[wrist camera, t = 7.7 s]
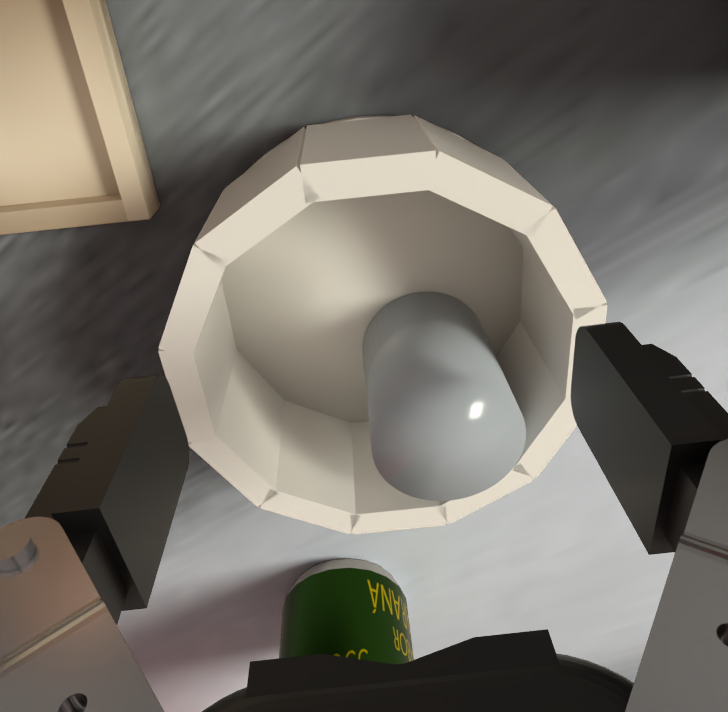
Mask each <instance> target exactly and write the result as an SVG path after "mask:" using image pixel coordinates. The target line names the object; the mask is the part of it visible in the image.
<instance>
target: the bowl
mask: <svg viewBox="0 0 728 712" xmlns="http://www.w3.org/2000/svg"><path fill="white" fill-rule="evenodd" d="M427 291H430V292H439V293H444V294H447V295H450V296H453V297H455V298H457V299H459V300H461V301H462V302H464V303H465V304H466V305H467V306H468V307H470V308H471V309H472V311H473V312H474V313H475V314H476V316H477V318H478V319H479V321H480V323H481V326H482V328H483V330H484V332H485V334H486V337H487V339H488V341H489V343H490V345H491V347H492V350H493V352H494V354H495V356H496V358H497V360H498V363H499V365H500V367H501V369H502V371H503V374H504V376H505V378H506V380H507V382H508V384H509V387H510V389H511V391H512V393H513V395H514V397H515V400H516V402H517V404H518V406H519V408H520V411H521V413H522V415H523V418H524V421H525V426H526V440H525V445H524V449H523V452H522V454H521V456H520V458H519V460H518V461H517V463H516V465H515V466H514V467H513V469H512V470H511V471H510V472H509V473H508V474H507V475H506V476H505V477H504V478H503V479H502V480H500V481H499V482H498V483H496V484H495V485H493V486H492V487H490V488H488V489H487V490H485V491H482V492H480V493H478V494H475V495H473V496H470V497H466V498H462V499H457V500H451V501H430V500H423V499H419V498H415V497H412V496H409V495H407V494H404V493H402V492H400V491H398V490H397V489H395V488H394V487H393V486H391V485H390V484H389V483H388V482H387V481H386V480H385V479H384V478H383V477H382V476H381V474H380V473H379V471H378V470H377V468H376V466H375V463H374V461H373V456H372V451H371V440H370V429H369V418H368V408H367V397H366V386H365V376H364V365H363V354H362V344H363V338H364V334H365V331H366V329H367V327H368V325H369V323H370V321H371V320H372V318H373V317H374V316H375V315H376V313H377V312H379V311H380V310H381V309H382V308H383V307H384V306H385V305H387V304H388V303H390V302H391V301H393V300H395V299H397V298H399V297H402V296H404V295H407V294H411V293H416V292H427ZM606 302H607V301H606V299H605V298H604V296H603V294H602V292H601V290H600V289H599V287H598V285H597V283H596V281H595V279H594V278H593V276H592V274H591V272H590V270H589V269H588V267H587V265H586V263H585V261H584V259H583V258H582V256H581V254H580V252H579V250H578V249H577V247H576V245H575V243H574V241H573V239H572V238H571V236H570V234H569V232H568V230H567V228H566V227H565V225H564V223H563V221H562V219H561V218H560V216H559V214H558V212H557V210H556V208H555V207H553V206H552V205H551V204H550V203H549V202H548V201H547V200H546V199H545V198H544V197H543V196H542V195H541V194H540V193H539V192H538V191H537V190H535V189H534V188H533V187H532V186H531V185H530V184H529V183H528V182H527V181H526V180H525V179H524V178H523V177H522V176H521V175H520V174H518V173H517V172H516V171H515V170H514V169H513V168H512V167H511V166H510V165H509V164H508V163H507V162H506V161H505V160H504V159H502V158H500V157H498V156H496V155H494V154H492V153H490V152H488V151H486V150H484V149H482V148H480V147H478V146H477V145H475V144H473V143H471V142H470V141H468V140H466V139H465V138H463V137H461V136H460V135H458V134H456V133H454V132H452V131H449V130H447V129H444V128H442V127H439V126H437V125H434V124H431V123H429V122H427V121H425V120H423V119H421V118H419V117H417V116H415V115H414V117H412V115H402V116H386V115H376V116H356V117H350V118H345V119H339V120H333V121H330V122H327V123H324V124H316V125H307V128H306V129H305V128H304V127H303V128H302V129H300V130H299V131H298V132H296V133H295V134H294V135H293V136H291V137H290V138H288V139H286V140H284V141H283V142H281V143H280V144H278V145H277V146H275V147H274V148H272V149H271V150H269V151H268V152H266V153H265V154H264V155H263V156H262V157H261V158H260V159H258V160H257V161H256V162H255V163H254V164H253V165H252V166H251V167H250V168H248V169H247V171H246V172H245V173H244V174H242V175H241V176H240V177H238V178H237V179H236V180H235V181H233V182H232V183H231V184H229V185H228V186H227V187H226V188H225V189H224V191H223V192H222V193H221V195H220V197H219V199H218V201H217V203H216V204H215V206H214V208H213V210H212V212H211V213H210V215H209V217H208V219H207V221H206V223H205V224H204V226H203V228H202V230H201V232H200V234H199V235H198V237H197V239H196V241H195V243H194V245H193V246H192V249H191V252H190V255H189V258H188V261H187V264H186V267H185V270H184V273H183V276H182V279H181V282H180V285H179V288H178V291H177V294H176V297H175V300H174V303H173V306H172V309H171V312H170V315H169V318H168V321H167V324H166V327H165V330H164V333H163V336H162V339H161V342H160V345H159V351H158V353H159V356H160V359H161V362H162V366H163V369H164V372H165V375H166V379H167V380H168V382H169V385H170V388H171V391H172V394H173V397H174V400H175V403H176V406H177V409H178V411H179V414H180V417H181V420H182V423H183V426H184V429H185V432H186V435H187V439H188V443H189V444H188V445H189V447H190V448H191V449H193V450H194V451H195V452H196V453H197V454H198V455H199V456H200V457H202V458H203V459H204V460H205V461H206V462H207V463H208V464H209V465H211V466H212V467H213V468H214V469H215V470H216V471H217V472H219V473H220V474H221V475H222V476H223V477H224V478H225V479H226V480H228V481H229V482H230V483H231V484H232V485H233V486H234V487H235V488H237V489H238V490H239V491H240V492H241V493H242V494H243V495H244V496H246V497H247V498H248V499H249V500H250V501H251V502H252V503H253V504H255V505H256V506H257V507H258V506H260V508H261V509H264V510H268V511H271V512H274V513H278V514H281V515H285V516H288V517H292V518H295V519H299V520H302V521H305V522H309V523H312V524H316V525H319V526H323V527H326V528H330V529H333V530H336V531H340V532H343V533H347V534H350V533H351V531H352V533H353V534H363V533H373V532H383V531H393V530H403V529H413V528H422V527H432V526H442V525H447V522H448V523H449V524H451V523H453V522H455V521H457V520H459V519H460V518H462V517H464V516H466V515H468V514H470V513H472V512H474V511H476V510H478V509H480V508H482V507H484V506H485V505H487V504H489V503H491V502H493V501H495V500H497V499H499V498H501V497H503V496H505V495H507V494H508V493H510V492H512V491H514V490H516V489H518V488H520V487H522V486H524V485H526V484H528V483H530V482H532V481H533V478H537V477H538V475H539V474H540V473H541V471H542V470H543V469H544V468H545V466H546V465H547V464H548V462H549V461H550V460H551V459H552V457H553V456H554V455H555V453H556V452H557V451H558V450H559V448H560V447H561V446H562V444H563V443H564V442H565V441H566V439H567V438H568V437H569V435H570V434H571V433H572V431H573V430H574V429H575V428H576V426H577V424H576V422H575V419H574V416H573V412H572V407H571V382H572V370H573V359H574V348H575V337H576V332H577V330H578V328H579V327H581V326H588V325H597V324H605V320H606V313H607V304H606ZM532 477H533V478H532Z"/></svg>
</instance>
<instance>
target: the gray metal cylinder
mask: <svg viewBox="0 0 728 712" xmlns="http://www.w3.org/2000/svg"><path fill="white" fill-rule="evenodd" d="M362 354H363V365H364V376H365V386H366V397H367V408H368V418H369V429H370V440H371V451H372V456H373V461H374V463H375V466H376V468H377V470H378V471H379V473H380V474H381V476H382V477H383V478H384V479H385V480H386V481H387V482H388V483H389V484H390V485H391V486H393V487H394V488H395V489H397V490H398V491H400V492H402V493H404V494H407V495H409V496H412V497H415V498H419V499H423V500H430V501H451V500H457V499H462V498H466V497H470V496H473V495H475V494H478V493H480V492H482V491H485V490H487V489H488V488H490V487H492V486H493V485H495V484H496V483H498V482H499V481H500V480H502V479H503V478H504V477H505V476H506V475H507V474H508V473H509V472H510V471H511V470H512V469H513V467H514V466H515V465H516V463H517V461H518V460H519V458H520V456H521V454H522V452H523V449H524V445H525V440H526V426H525V421H524V418H523V415H522V413H521V411H520V408H519V406H518V404H517V402H516V400H515V397H514V395H513V393H512V391H511V389H510V387H509V384H508V382H507V380H506V378H505V376H504V374H503V371H502V369H501V367H500V365H499V363H498V360H497V358H496V356H495V354H494V352H493V350H492V347H491V345H490V343H489V341H488V339H487V337H486V334H485V332H484V330H483V328H482V326H481V323H480V321H479V319H478V318H477V316H476V314H475V313H474V312H473V311H472V309H471V308H470V307H468V306H467V305H466V304H465V303H464V302H462V301H461V300H459V299H457V298H455V297H453V296H450V295H447V294H444V293H439V292H430V291H427V292H416V293H411V294H407V295H404V296H402V297H399V298H397V299H395V300H393V301H391V302H390V303H388V304H387V305H385V306H384V307H383V308H382V309H381V310H380V311H379V312H377V313H376V315H375V316H374V317H373V318H372V320H371V321H370V323H369V325H368V327H367V329H366V331H365V334H364V338H363V344H362Z"/></svg>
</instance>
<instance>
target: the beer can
mask: <svg viewBox="0 0 728 712" xmlns="http://www.w3.org/2000/svg"><path fill="white" fill-rule="evenodd" d="M317 654H327V655H334V656H341V657H348V658H355V659H362V660H368V661H375V662H382V663H389V664H404V663H407V662H410V661H413V660H414V658H413V650H412V642H411V634H410V626H409V618H408V610H407V602H406V597H405V596H404V594H403V592H402V590H401V589H400V587H399V585H398V584H397V583H396V581H395V580H394V578H393V577H392V575H391V574H390V573H388V572H387V571H386V570H384V569H383V568H382V567H381V566H378V565H376V564H373V563H371V562H368V561H365V560H357V559H350V558H347V559H336V560H329V561H326V562H323V563H320V564H317V565H315V566H313V567H311V568H310V569H308V570H307V571H305V572H304V573H302V574H301V576H300V577H299V578H298V579H297V581H296V582H295V583H294V585H293V586H292V588H291V590H290V591H289V593H288V594H287V596H286V599H285V603H284V607H283V613H282V626H281V639H280V652H279V659H280V658H289V657H298V656H308V655H317Z"/></svg>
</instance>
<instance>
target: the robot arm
mask: <svg viewBox="0 0 728 712" xmlns="http://www.w3.org/2000/svg"><path fill="white" fill-rule="evenodd" d="M571 407H572V412H573V416H574V419H575V422H576V424H577V426H578V428H579V429H580V431H581V433H582V435H583V437H584V438H585V440H586V442H587V444H588V446H589V447H590V449H591V451H592V453H593V455H594V456H595V458H596V460H597V462H598V464H599V465H600V467H601V469H602V471H603V473H604V474H605V476H606V478H607V480H608V482H609V483H610V485H611V487H612V489H613V491H614V492H615V494H616V496H617V498H618V500H619V501H620V503H621V505H622V507H623V509H624V510H625V512H626V514H627V516H628V518H629V519H630V521H631V523H632V525H633V527H634V528H635V530H636V532H637V534H638V536H639V537H640V539H641V541H642V543H643V545H644V546H645V548H646V550H647V552H648V554H649V555H651V554H660V553H669V552H675V555H674V559H673V562H672V565H671V568H670V571H669V574H668V578H667V581H666V584H665V587H664V590H663V593H662V597H661V600H660V603H659V606H658V609H657V612H656V615H655V619H654V622H653V625H652V628H651V631H650V634H649V638H648V641H647V644H646V647H645V650H644V653H643V657H642V660H641V663H640V666H639V669H638V672H637V676H636V679H635V682H634V683H633V682H631V681H630V680H628V679H626V678H625V677H623V676H621V675H619V674H617V673H615V672H613V671H611V670H609V669H607V668H605V667H602V666H600V665H597V664H595V663H592V662H589V661H587V660H583V659H579V658H575V657H572V656H568V655H562V654H556V652H555V649H554V646H553V643H552V640H551V637H550V635H549V632H548V629H547V630H538V631H529V632H520V633H510V634H501V635H492V636H483V637H474V638H471V639H469V640H466V641H463V642H461V643H458V644H455V645H453V646H450V647H447V648H445V649H442V650H439V651H437V652H434V653H431V654H429V655H426V656H423V657H421V658H418V659H415V660H413V661H410V662H407V663H404V664H389V663H382V662H375V661H368V660H362V659H355V658H348V657H341V656H334V655H327V654H317V655H308V656H298V657H289V658H280V659H271V660H262V661H252V662H250V667H249V676H248V684H247V687H246V688H244V689H241V690H238V691H236V692H234V693H232V694H230V695H228V696H226V697H224V698H222V699H220V700H219V701H217V702H216V703H214V704H213V705H211V706H210V707H208V708H207V709H205V710H203V711H202V712H728V413H727V412H726V411H725V410H724V409H723V407H722V406H721V405H720V404H719V403H718V402H717V401H716V400H715V399H714V398H713V397H712V395H711V394H710V393H709V392H708V391H705V390H704V387H703V386H702V385H701V384H700V382H699V381H698V380H697V379H696V378H695V377H692V374H691V373H690V372H689V370H688V369H687V368H686V367H685V366H684V365H683V364H682V363H681V362H680V361H679V360H678V359H677V357H675V356H673V355H671V354H670V353H668V352H666V351H664V350H662V349H660V348H658V347H657V346H655V345H653V344H647V345H641V344H640V343H639V342H638V340H637V339H636V338H635V337H634V336H633V334H632V333H631V332H630V331H629V330H628V329H627V327H626V326H625V325H624V324H623V323H621V322H614V323H605V324H597V325H588V326H581V327H579V328H578V330H577V332H576V337H575V348H574V359H573V370H572V382H571ZM188 464H189V445H188V439H187V435H186V432H185V429H184V426H183V423H182V420H181V417H180V414H179V411H178V409H177V406H176V403H175V400H174V397H173V394H172V391H171V388H170V385H169V382H168V380H167V379H166V377H165V376H164V375H162V374H160V375H151V376H143V377H134V378H126V379H122V380H121V382H120V383H119V385H118V387H117V389H116V391H115V393H114V394H113V396H112V398H111V400H110V402H109V404H108V406H103V407H98V408H96V409H95V410H94V411H93V412H92V413H91V414H90V415H89V416H87V417H86V418H85V419H84V420H83V421H82V422H81V423H80V424H79V425H78V426H77V427H76V429H75V431H74V433H73V434H72V436H71V438H70V440H69V441H68V443H67V448H64V450H63V452H62V454H61V456H60V457H59V459H58V464H56V465H55V466H54V468H53V470H52V471H51V473H50V475H49V477H48V478H47V480H46V482H45V484H44V485H43V487H42V489H41V491H40V492H39V494H38V496H37V498H36V499H35V501H34V503H33V505H32V506H31V508H30V510H29V512H28V513H27V515H26V517H25V519H22V520H18V521H16V522H13V523H10V524H8V525H6V526H4V527H2V528H0V712H164V711H163V709H162V707H161V705H160V703H159V701H158V700H157V698H156V696H155V694H154V692H153V691H152V689H151V687H150V685H149V683H148V682H147V680H146V678H145V676H144V674H143V672H142V671H141V669H140V667H139V665H138V663H137V662H136V660H135V658H134V656H133V654H132V652H131V651H130V649H129V647H128V645H127V643H126V642H125V640H124V638H123V636H122V634H121V632H120V631H119V629H118V627H117V623H118V620H119V617H120V614H121V611H125V610H134V609H143V608H147V605H148V602H149V598H150V595H151V592H152V588H153V585H154V581H155V578H156V575H157V571H158V568H159V564H160V561H161V558H162V554H163V551H164V547H165V544H166V541H167V537H168V534H169V530H170V527H171V523H172V520H173V517H174V513H175V510H176V506H177V503H178V500H179V496H180V493H181V489H182V486H183V483H184V479H185V476H186V472H187V469H188Z"/></svg>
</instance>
